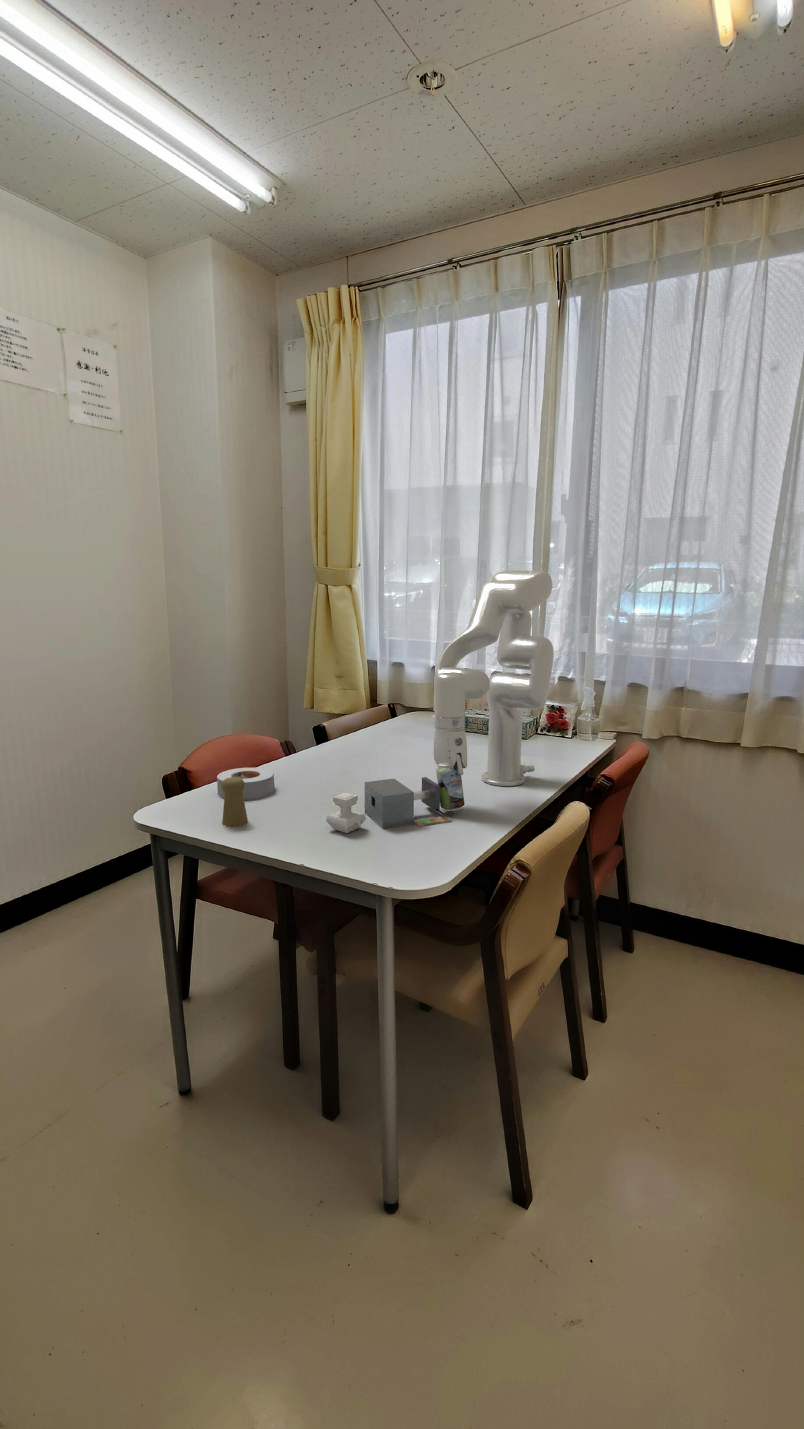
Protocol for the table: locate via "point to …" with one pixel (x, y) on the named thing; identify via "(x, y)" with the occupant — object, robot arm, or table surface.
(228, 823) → the cork
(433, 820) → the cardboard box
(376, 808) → the block
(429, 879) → the table surface
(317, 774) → the table surface
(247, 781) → the tape roll
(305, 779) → the table surface
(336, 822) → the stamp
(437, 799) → the plunger
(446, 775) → the beverage can
